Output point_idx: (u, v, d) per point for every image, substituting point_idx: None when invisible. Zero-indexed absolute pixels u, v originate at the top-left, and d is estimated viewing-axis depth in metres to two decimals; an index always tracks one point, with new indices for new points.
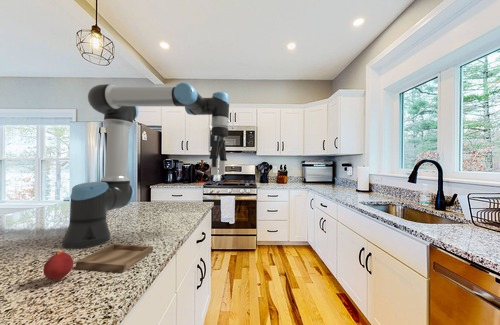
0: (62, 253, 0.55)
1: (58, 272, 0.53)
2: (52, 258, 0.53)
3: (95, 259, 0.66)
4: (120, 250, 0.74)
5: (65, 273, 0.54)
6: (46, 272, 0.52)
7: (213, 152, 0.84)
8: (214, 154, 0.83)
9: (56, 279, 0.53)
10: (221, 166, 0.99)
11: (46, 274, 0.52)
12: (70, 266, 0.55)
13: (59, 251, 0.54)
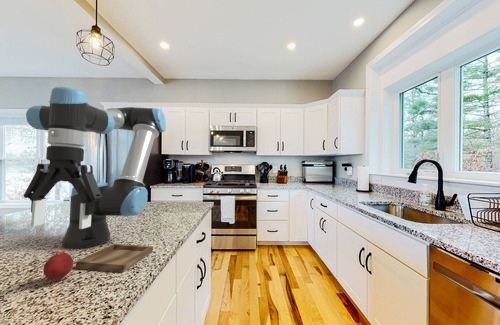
0: (62, 253, 0.55)
1: (58, 272, 0.53)
2: (52, 258, 0.53)
3: (95, 259, 0.66)
4: (120, 250, 0.74)
5: (65, 273, 0.54)
6: (46, 272, 0.52)
7: None
8: None
9: (56, 279, 0.53)
10: None
11: (46, 274, 0.52)
12: (70, 266, 0.55)
13: (59, 251, 0.54)
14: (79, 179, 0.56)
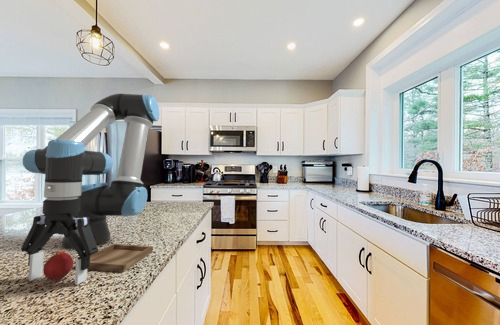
0: (62, 253, 0.55)
1: (58, 272, 0.53)
2: (52, 258, 0.53)
3: (95, 259, 0.66)
4: (120, 250, 0.74)
5: (65, 273, 0.54)
6: (46, 272, 0.52)
7: None
8: None
9: (56, 279, 0.53)
10: None
11: (46, 274, 0.52)
12: (70, 266, 0.55)
13: (59, 251, 0.54)
14: (76, 231, 0.55)
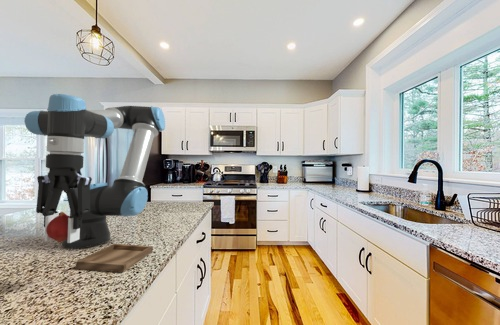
0: (65, 215, 0.55)
1: (61, 233, 0.53)
2: (55, 219, 0.54)
3: (95, 259, 0.66)
4: (120, 250, 0.74)
5: None
6: (49, 231, 0.52)
7: None
8: None
9: (59, 240, 0.54)
10: None
11: (49, 234, 0.52)
12: None
13: (62, 213, 0.55)
14: (75, 189, 0.56)
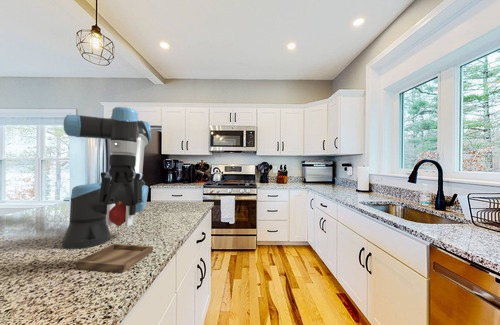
0: (122, 204, 0.68)
1: (120, 217, 0.66)
2: (115, 206, 0.67)
3: (95, 259, 0.66)
4: (120, 250, 0.74)
5: (125, 219, 0.67)
6: (112, 216, 0.65)
7: None
8: None
9: (118, 223, 0.67)
10: None
11: (112, 218, 0.65)
12: None
13: (120, 202, 0.68)
14: (130, 183, 0.69)
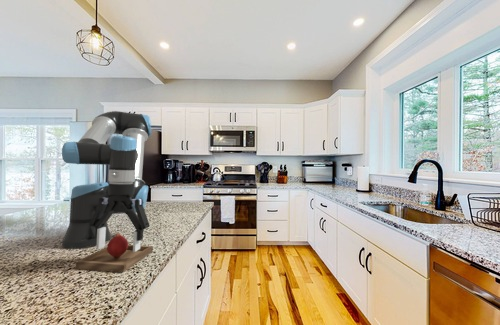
0: (120, 236, 0.68)
1: (119, 250, 0.66)
2: (113, 239, 0.66)
3: (95, 259, 0.66)
4: None
5: (123, 251, 0.67)
6: (110, 250, 0.65)
7: None
8: None
9: (116, 256, 0.67)
10: None
11: (110, 252, 0.65)
12: (126, 246, 0.68)
13: (118, 234, 0.68)
14: (132, 210, 0.69)
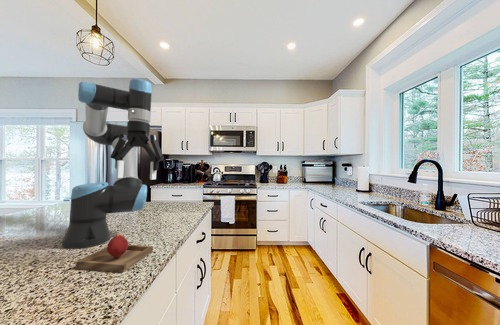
0: (120, 236, 0.68)
1: (119, 251, 0.66)
2: (113, 239, 0.66)
3: (95, 259, 0.66)
4: None
5: (123, 251, 0.67)
6: (110, 250, 0.65)
7: None
8: None
9: (116, 256, 0.67)
10: None
11: (110, 252, 0.65)
12: (126, 246, 0.68)
13: (118, 234, 0.68)
14: (148, 145, 0.78)
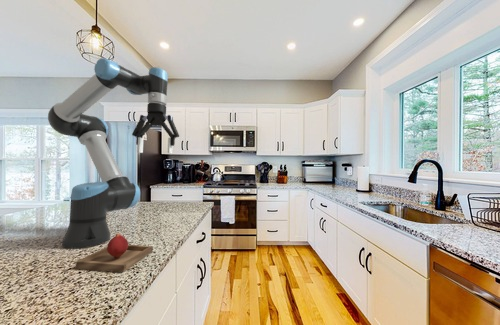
0: (120, 236, 0.68)
1: (119, 251, 0.66)
2: (113, 239, 0.66)
3: (95, 259, 0.66)
4: None
5: (123, 251, 0.67)
6: (110, 250, 0.65)
7: None
8: None
9: (116, 256, 0.67)
10: None
11: (110, 252, 0.65)
12: (126, 246, 0.68)
13: (118, 234, 0.68)
14: (165, 124, 0.91)
